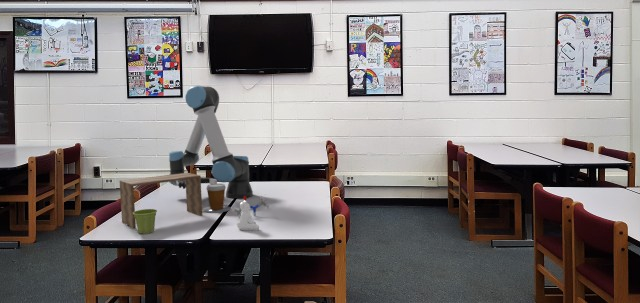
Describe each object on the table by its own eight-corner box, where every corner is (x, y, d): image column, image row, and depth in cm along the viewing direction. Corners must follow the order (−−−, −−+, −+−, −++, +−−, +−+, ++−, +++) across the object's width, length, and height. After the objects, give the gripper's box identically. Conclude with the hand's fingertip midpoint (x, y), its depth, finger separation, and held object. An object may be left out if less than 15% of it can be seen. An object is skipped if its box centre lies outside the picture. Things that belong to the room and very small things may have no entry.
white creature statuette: (260, 230, 189) (259, 201, 188) (239, 232, 186) (238, 203, 185) (255, 225, 198) (254, 197, 196) (235, 227, 195) (234, 199, 194)
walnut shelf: (122, 222, 206) (119, 180, 204) (188, 210, 227) (187, 172, 226) (133, 228, 196) (130, 184, 194) (202, 215, 217) (200, 175, 215)
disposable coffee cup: (221, 211, 224) (220, 186, 223) (203, 210, 226) (202, 186, 224) (229, 207, 233) (228, 183, 232) (212, 206, 235) (211, 183, 234)
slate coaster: (231, 205, 237) (231, 205, 237) (231, 211, 224) (231, 211, 224) (203, 207, 235) (203, 206, 235) (201, 213, 221) (201, 213, 221)
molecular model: (268, 212, 220) (264, 192, 221) (272, 213, 212) (268, 191, 213) (231, 220, 214) (227, 199, 215) (234, 220, 206) (230, 198, 207)
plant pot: (136, 236, 183) (135, 215, 182) (131, 231, 191) (130, 210, 190) (160, 232, 188) (159, 212, 187) (155, 228, 196) (154, 207, 195)
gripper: (206, 184, 260) (226, 187, 244) (164, 190, 243) (181, 195, 228) (205, 170, 259) (225, 173, 243) (163, 176, 243) (180, 180, 227)
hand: (204, 184), depth 236 cm, fingers open, 13 cm apart
